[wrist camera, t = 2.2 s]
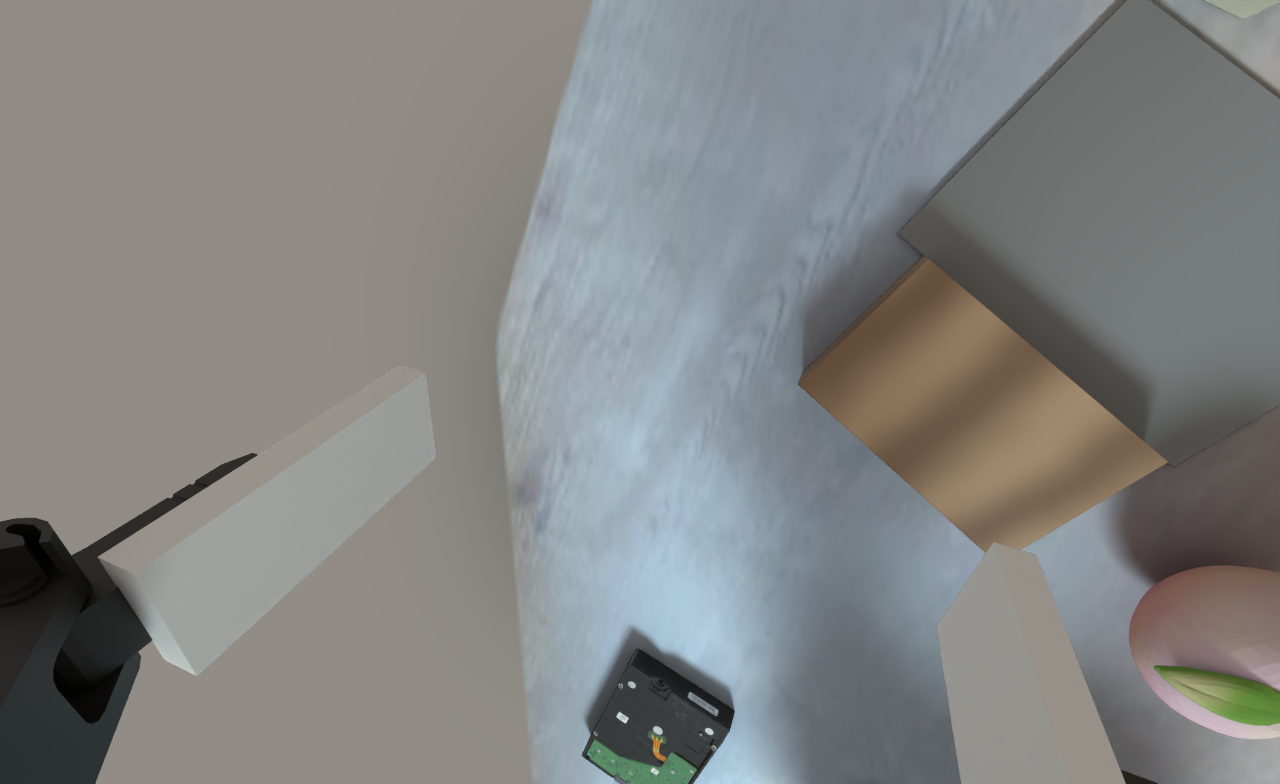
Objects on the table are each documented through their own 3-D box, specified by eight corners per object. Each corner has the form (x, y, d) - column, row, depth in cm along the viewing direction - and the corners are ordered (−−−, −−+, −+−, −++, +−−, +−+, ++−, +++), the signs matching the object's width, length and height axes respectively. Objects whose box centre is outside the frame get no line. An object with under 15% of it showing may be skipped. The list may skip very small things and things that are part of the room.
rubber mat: (1499, 271, 23) (1506, 272, 23) (1170, 464, 30) (1173, 467, 30) (1134, -8, 25) (1136, -10, 25) (897, 233, 32) (897, 233, 31)
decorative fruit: (1321, 530, 28) (1527, 672, 20) (1299, 657, 30) (1477, 838, 22) (1098, 522, 32) (1187, 638, 23) (1092, 636, 34) (1172, 782, 25)
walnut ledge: (1141, 440, 30) (1168, 462, 27) (987, 537, 35) (997, 563, 32) (923, 255, 31) (928, 258, 29) (802, 372, 36) (797, 384, 33)
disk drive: (637, 641, 50) (591, 734, 56) (626, 662, 47) (579, 758, 53) (738, 704, 48) (678, 795, 54) (731, 730, 45) (670, 822, 51)
